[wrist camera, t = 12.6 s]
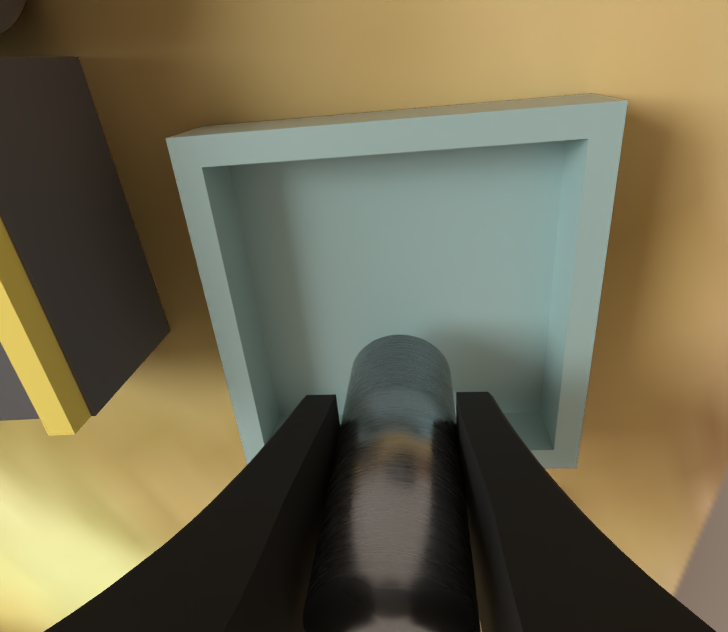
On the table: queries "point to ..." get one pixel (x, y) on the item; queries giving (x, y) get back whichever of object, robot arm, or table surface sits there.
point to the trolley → (9, 13)
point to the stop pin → (395, 503)
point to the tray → (408, 252)
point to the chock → (65, 253)
